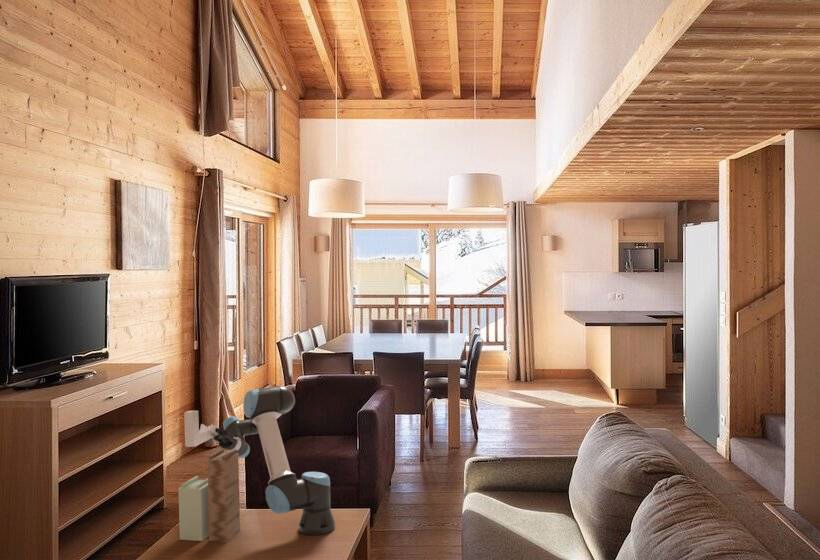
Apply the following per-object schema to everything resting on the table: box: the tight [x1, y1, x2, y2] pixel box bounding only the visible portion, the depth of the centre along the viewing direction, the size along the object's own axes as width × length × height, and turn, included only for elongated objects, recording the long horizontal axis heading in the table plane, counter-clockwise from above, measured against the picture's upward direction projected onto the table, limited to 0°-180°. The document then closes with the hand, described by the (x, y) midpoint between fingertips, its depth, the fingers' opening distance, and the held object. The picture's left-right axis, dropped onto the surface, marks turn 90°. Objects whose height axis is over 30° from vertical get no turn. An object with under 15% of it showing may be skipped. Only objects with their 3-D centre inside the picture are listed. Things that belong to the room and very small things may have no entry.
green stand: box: [178, 475, 209, 542], centre depth 270 cm, size 10×12×22 cm
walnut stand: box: [207, 448, 241, 543], centre depth 267 cm, size 8×11×34 cm
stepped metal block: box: [183, 410, 219, 448], centre depth 275 cm, size 20×4×14 cm, turn 168°
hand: (206, 427), depth 279 cm, fingers closed on stepped metal block, 4 cm apart
